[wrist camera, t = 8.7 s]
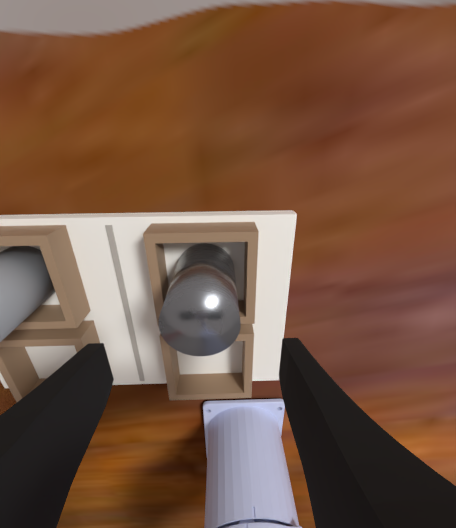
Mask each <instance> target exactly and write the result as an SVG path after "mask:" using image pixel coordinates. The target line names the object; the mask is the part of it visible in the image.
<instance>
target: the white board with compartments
mask: <svg viewBox="0 0 456 528" xmlns="http://www.w3.org/2000/svg"><path fill="white" fill-rule="evenodd" d="M296 217H297V214H296V213H295V212H294V211H293V210H282V211H220V212H158V213H96V214H34V215H0V380H1V382H2V384H3V386H4V388H9V389H10V391H11V393H12V395H13V396H14V398H15V400H16V402H18V401H20V400H21V399H22V398H23V397H25V396H26V395H27V394H29V393H30V392H31V391H32V390H34V389H35V388H36V387H37V386H39V385H40V384H41V383H42V382H43V381H44V380H46V379H47V378H48V377H49V376H50V375H52V374H53V373H54V372H55V371H56V370H58V369H59V368H60V367H61V366H62V365H63V364H65V363H66V362H67V361H68V360H69V359H70V358H71V357H73V356H74V355H75V354H76V353H77V352H79V351H80V350H81V349H82V348H83V347H85V346H86V345H87V344H89V343H104V346H105V350H106V353H107V357H108V361H109V364H110V368H111V371H112V375H113V378H114V381H113V384H112V385H129V384H163V383H167V387H168V394H169V400H196V399H228V398H251V393H252V381H264V380H279V367H280V358H281V348H282V339H283V338H284V329H285V319H286V310H287V301H288V291H289V282H290V273H291V264H292V254H293V245H294V236H295V227H296ZM203 243H207V244H213V245H216V246H219V247H220V248H222V249H224V250H225V251H226V252H227V253H228V254H229V255H230V257H231V259H232V261H233V264H234V271H235V279H236V288H237V296H238V305H239V313H240V322H241V327H240V332H239V335H238V337H237V339H236V340H235V341H234V343H233V344H232V345H231V346H230V347H228V348H227V349H226V350H224V351H222V352H220V353H217V354H214V355H210V356H191V355H187V354H183V353H181V352H179V351H177V350H175V349H173V348H172V347H171V346H170V345H168V344H167V343H166V341H165V340H164V339H163V337H162V335H161V333H160V330H159V325H158V321H159V315H160V312H161V309H162V307H163V304H164V301H165V298H166V295H167V292H168V289H169V286H170V283H171V280H172V277H173V274H174V271H175V268H176V265H177V263H178V260H179V258H180V256H181V255H182V253H183V252H184V251H185V250H186V249H188V248H189V247H191V246H194V245H197V244H203Z"/></svg>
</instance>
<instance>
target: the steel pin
mask: <svg viewBox="0 0 456 528" xmlns="http://www.w3.org/2000/svg"><path fill="white" fill-rule="evenodd" d="M158 325H159V330H160V333H161V335H162V337H163V339H164V340H165V341H166V343H167V344H168V345H170V346H171V347H172V348H173V349H175V350H177V351H179V352H181V353H183V354H187V355H191V356H210V355H214V354H217V353H220V352H222V351H224V350H226V349H227V348H228V347H230V346H231V345H232V344H233V343H234V341H235V340H236V339H237V337H238V335H239V332H240V327H241V322H240V313H239V305H238V296H237V288H236V279H235V271H234V264H233V261H232V259H231V257H230V255H229V254H228V253H227V252H226V251H225V250H224V249H222V248H220V247H219V246H216V245H213V244H207V243H203V244H197V245H194V246H191V247H189V248H188V249H186V250H185V251H184V252H183V253H182V255H181V256H180V258H179V260H178V263H177V265H176V268H175V271H174V274H173V277H172V280H171V283H170V286H169V289H168V292H167V295H166V298H165V301H164V304H163V307H162V309H161V312H160V315H159V321H158Z"/></svg>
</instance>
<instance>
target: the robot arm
mask: <svg viewBox="0 0 456 528" xmlns="http://www.w3.org/2000/svg"><path fill="white" fill-rule="evenodd" d="M279 379H280V385H281V390H282V396H283V399H252V400H220V401H206V402H204V403H203V416H204V429H205V441H206V454H207V478H206V503H205V528H302V527H301V526H299V523H298V518H297V513H296V508H295V503H294V498H293V493H292V488H291V484H290V479H289V474H288V469H287V464H286V459H285V454H284V449H283V445H282V440H281V432H282V425H283V417H284V409H285V408H286V411H287V415H288V418H289V421H290V425H291V428H292V432H293V435H294V438H295V442H296V445H297V448H298V452H299V455H300V459H301V462H302V466H303V470H304V474H305V478H306V482H307V487H308V492H309V496H310V501H311V506H312V511H313V516H314V521H315V526H316V528H456V486H455V485H453V484H452V483H451V482H449V481H448V480H446V479H445V478H444V477H442V476H441V475H440V474H438V473H437V472H436V471H434V470H433V469H432V468H430V467H429V466H428V465H426V464H425V463H424V462H423V461H421V460H420V459H419V458H418V457H416V456H415V455H414V454H413V453H411V452H410V451H409V450H407V449H406V448H405V447H404V446H402V445H401V444H400V443H399V442H397V441H396V440H395V439H394V438H393V437H392V436H390V435H389V434H388V433H387V432H386V431H385V430H383V429H382V428H381V427H380V426H379V425H378V424H377V423H376V422H375V421H373V420H372V419H371V418H370V417H369V416H368V415H367V414H366V413H365V412H364V411H363V410H362V409H361V408H360V407H359V406H358V405H357V404H356V403H355V402H354V401H353V400H352V399H351V398H350V397H349V396H348V395H347V394H346V393H345V392H344V391H343V390H342V389H341V388H340V387H339V386H338V385H337V384H336V383H335V382H334V380H333V379H332V378H331V377H330V376H329V375H328V374H327V373H326V372H325V370H324V369H323V368H322V367H321V366H320V365H319V363H318V362H317V361H316V360H315V359H314V357H313V356H312V355H311V354H310V352H309V351H308V350H307V349H306V347H305V346H304V345H303V344H302V342H301V341H300V340H299V339H298V338H283V339H282V348H281V358H280V367H279ZM113 381H114V378H113V375H112V371H111V368H110V364H109V361H108V357H107V353H106V350H105V346H104V343H89V344H87V345H86V346H85V347H83V348H82V349H81V350H80V351H79V352H77V353H76V354H75V355H74V356H73V357H71V358H70V359H69V360H68V361H67V362H66V363H65V364H63V365H62V366H61V367H60V368H59V369H58V370H56V371H55V372H54V373H53V374H52V375H50V376H49V377H48V378H47V379H46V380H44V381H43V382H42V383H41V384H40V385H39V386H37V387H36V388H35V389H34V390H32V391H31V392H30V393H29V394H27V395H26V396H25V397H23V398H22V399H21V400H20V401H18V402H17V403H16V404H15V405H13V406H12V407H11V408H10V409H8V410H7V411H6V412H4V413H3V414H2V415H0V528H56V527H57V524H58V521H59V518H60V515H61V512H62V509H63V507H64V504H65V501H66V498H67V495H68V492H69V490H70V487H71V484H72V482H73V479H74V477H75V474H76V472H77V469H78V467H79V465H80V463H81V461H82V458H83V456H84V454H85V452H86V449H87V447H88V445H89V443H90V440H91V438H92V436H93V434H94V432H95V429H96V427H97V425H98V422H99V420H100V418H101V416H102V413H103V411H104V409H105V406H106V403H107V400H108V397H109V394H110V391H111V388H112V384H113Z"/></svg>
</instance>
